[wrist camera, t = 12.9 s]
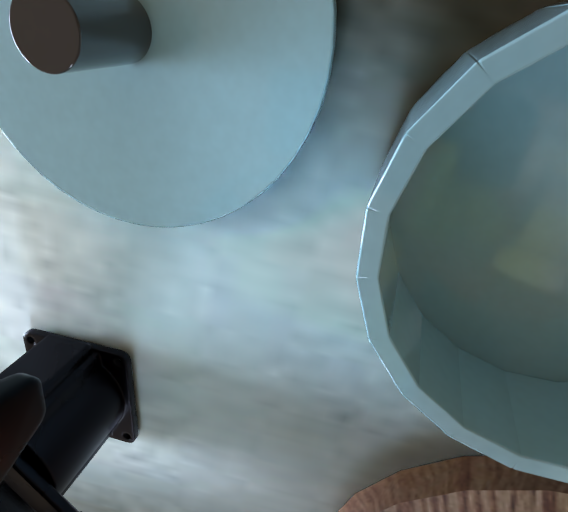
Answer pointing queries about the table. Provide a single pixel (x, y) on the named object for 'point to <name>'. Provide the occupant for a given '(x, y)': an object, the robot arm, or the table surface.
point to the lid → (163, 98)
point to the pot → (480, 249)
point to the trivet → (462, 489)
